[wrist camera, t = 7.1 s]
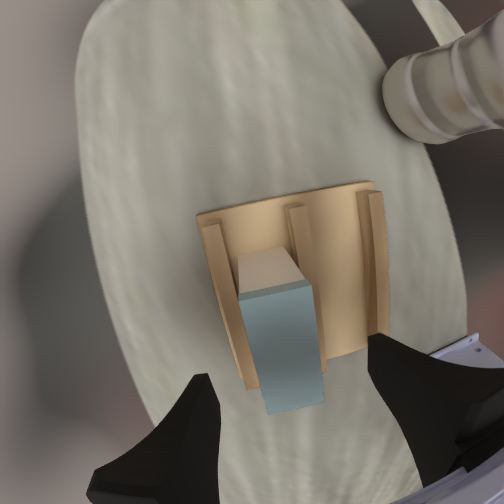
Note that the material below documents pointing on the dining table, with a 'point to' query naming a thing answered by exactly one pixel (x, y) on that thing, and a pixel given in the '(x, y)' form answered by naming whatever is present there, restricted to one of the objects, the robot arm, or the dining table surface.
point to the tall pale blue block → (281, 329)
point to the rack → (308, 263)
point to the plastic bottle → (450, 87)
